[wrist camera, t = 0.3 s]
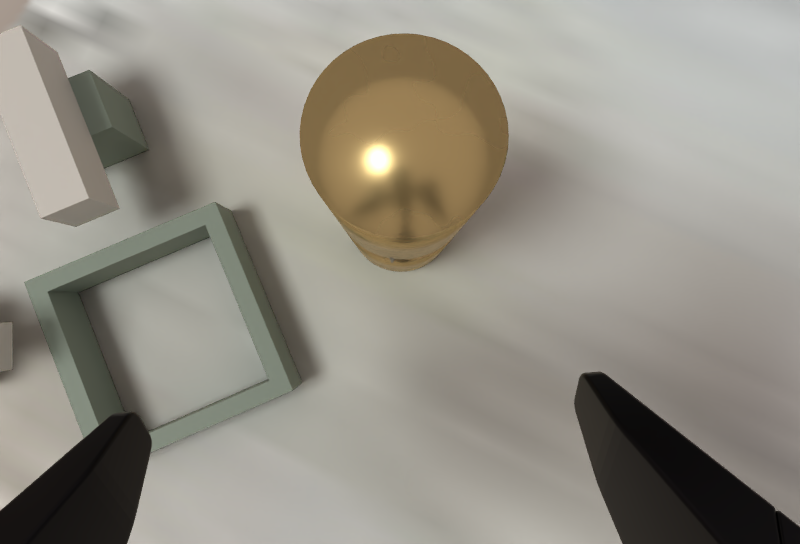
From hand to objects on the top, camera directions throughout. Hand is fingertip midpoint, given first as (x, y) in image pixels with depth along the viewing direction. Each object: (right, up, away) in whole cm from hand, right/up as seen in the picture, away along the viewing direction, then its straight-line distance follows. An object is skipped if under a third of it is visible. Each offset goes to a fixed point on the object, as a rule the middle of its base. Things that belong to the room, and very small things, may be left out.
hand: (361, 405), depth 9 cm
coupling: (+1, +5, +14) cm, 15 cm away
